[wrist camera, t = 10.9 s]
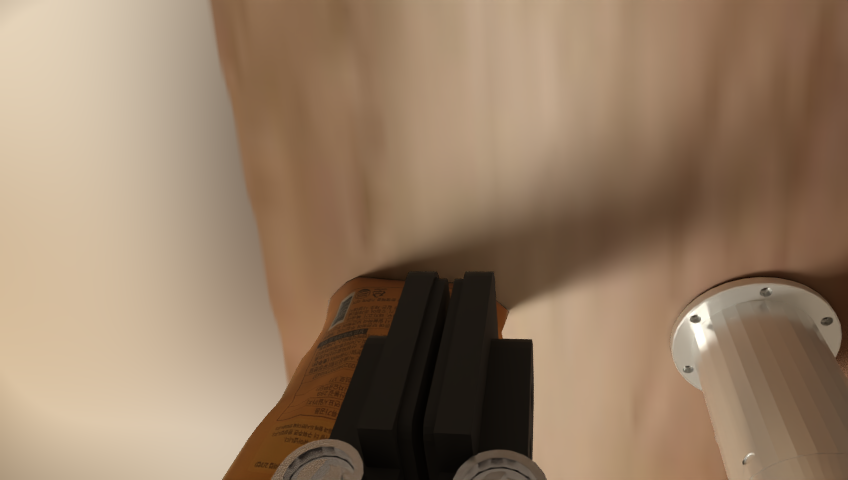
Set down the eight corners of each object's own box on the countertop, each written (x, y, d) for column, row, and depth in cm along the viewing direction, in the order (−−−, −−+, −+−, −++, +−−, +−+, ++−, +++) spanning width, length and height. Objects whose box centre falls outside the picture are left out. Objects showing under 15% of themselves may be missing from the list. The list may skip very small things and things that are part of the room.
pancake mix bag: (308, 257, 54) (127, 562, 31) (525, 269, 51) (507, 620, 27) (319, 316, 58) (163, 630, 34) (522, 331, 54) (504, 688, 31)
